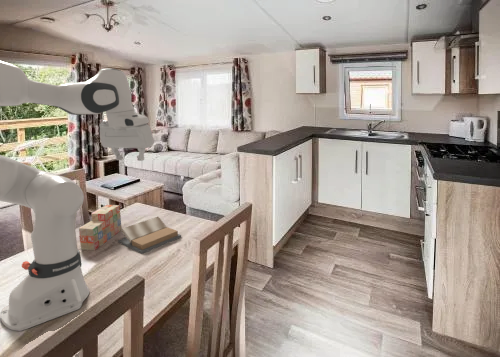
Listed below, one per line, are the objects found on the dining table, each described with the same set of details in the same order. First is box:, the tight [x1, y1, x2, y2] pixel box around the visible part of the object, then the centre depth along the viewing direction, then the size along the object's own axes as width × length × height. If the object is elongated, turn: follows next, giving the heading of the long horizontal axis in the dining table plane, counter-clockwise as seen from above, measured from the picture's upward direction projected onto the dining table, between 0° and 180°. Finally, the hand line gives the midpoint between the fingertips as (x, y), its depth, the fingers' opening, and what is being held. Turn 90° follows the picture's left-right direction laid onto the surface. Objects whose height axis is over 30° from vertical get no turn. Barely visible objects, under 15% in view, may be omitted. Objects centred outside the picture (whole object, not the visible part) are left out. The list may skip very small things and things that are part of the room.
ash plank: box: [121, 216, 168, 243], centre depth 142 cm, size 18×7×2 cm
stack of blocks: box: [78, 204, 123, 251], centre depth 140 cm, size 21×6×12 cm, turn 172°
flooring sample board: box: [117, 226, 182, 254], centre depth 141 cm, size 20×17×3 cm
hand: (130, 160), depth 113 cm, fingers open, 8 cm apart
